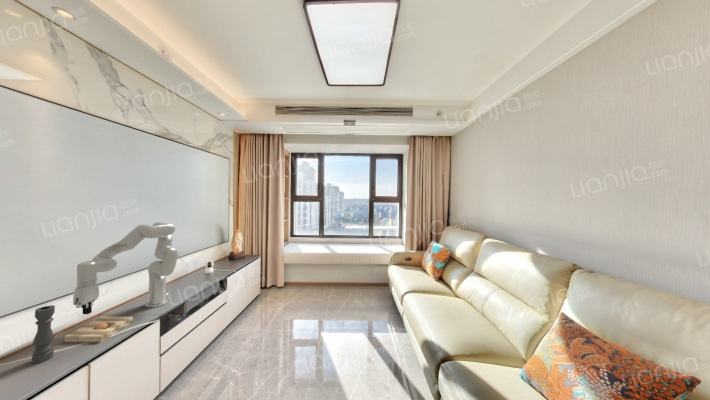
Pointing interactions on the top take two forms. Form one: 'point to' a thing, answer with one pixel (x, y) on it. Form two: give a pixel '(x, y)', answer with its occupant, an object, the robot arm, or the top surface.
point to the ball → (101, 326)
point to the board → (98, 335)
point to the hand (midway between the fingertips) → (87, 313)
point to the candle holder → (43, 334)
